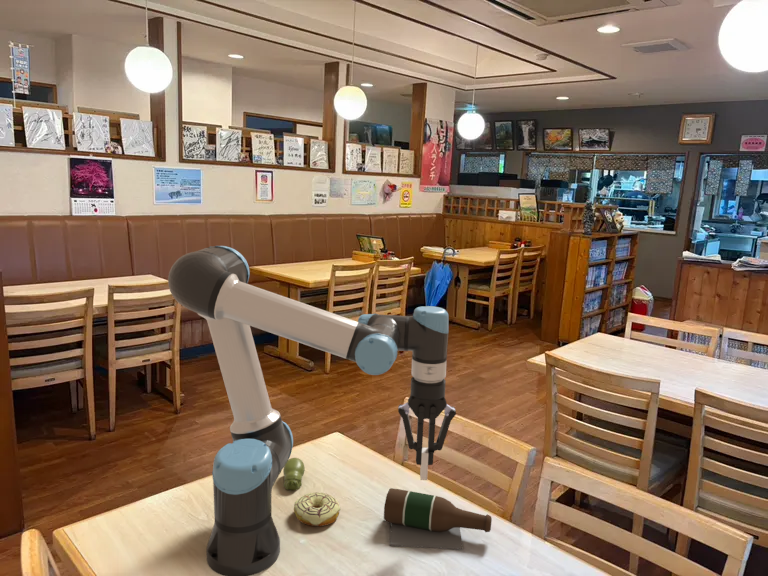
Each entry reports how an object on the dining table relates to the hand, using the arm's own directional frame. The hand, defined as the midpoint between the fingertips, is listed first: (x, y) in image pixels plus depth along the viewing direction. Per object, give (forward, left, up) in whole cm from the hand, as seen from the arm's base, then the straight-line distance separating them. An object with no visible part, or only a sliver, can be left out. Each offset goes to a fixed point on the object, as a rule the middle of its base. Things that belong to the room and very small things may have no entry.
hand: (423, 476), depth 126 cm
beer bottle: (-8, +3, -9) cm, 13 cm away
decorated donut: (-25, +4, -14) cm, 29 cm away
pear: (-33, +18, -14) cm, 40 cm away
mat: (+1, 0, -14) cm, 14 cm away
